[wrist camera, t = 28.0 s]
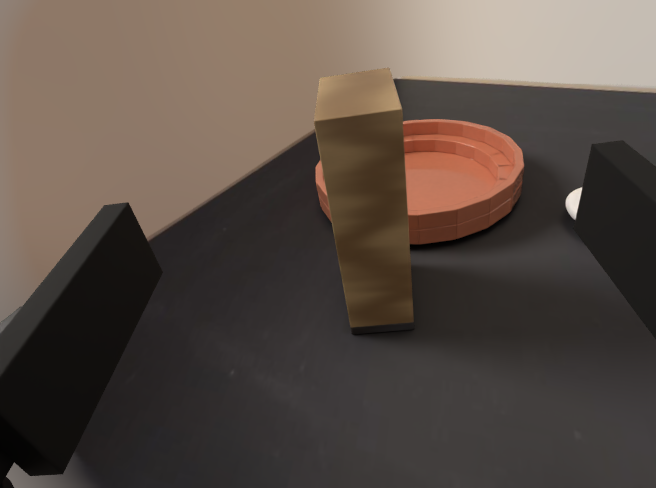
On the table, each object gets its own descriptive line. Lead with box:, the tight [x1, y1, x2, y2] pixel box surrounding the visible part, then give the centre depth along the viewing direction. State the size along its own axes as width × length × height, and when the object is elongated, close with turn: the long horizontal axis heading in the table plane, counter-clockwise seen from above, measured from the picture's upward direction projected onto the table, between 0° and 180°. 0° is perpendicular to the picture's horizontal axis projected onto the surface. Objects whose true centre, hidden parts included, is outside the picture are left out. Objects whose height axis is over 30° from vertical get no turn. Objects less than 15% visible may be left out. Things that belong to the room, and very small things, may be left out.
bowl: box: [316, 119, 524, 244], centre depth 36 cm, size 16×16×3 cm
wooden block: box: [314, 68, 414, 334], centre depth 24 cm, size 4×6×13 cm, turn 178°
